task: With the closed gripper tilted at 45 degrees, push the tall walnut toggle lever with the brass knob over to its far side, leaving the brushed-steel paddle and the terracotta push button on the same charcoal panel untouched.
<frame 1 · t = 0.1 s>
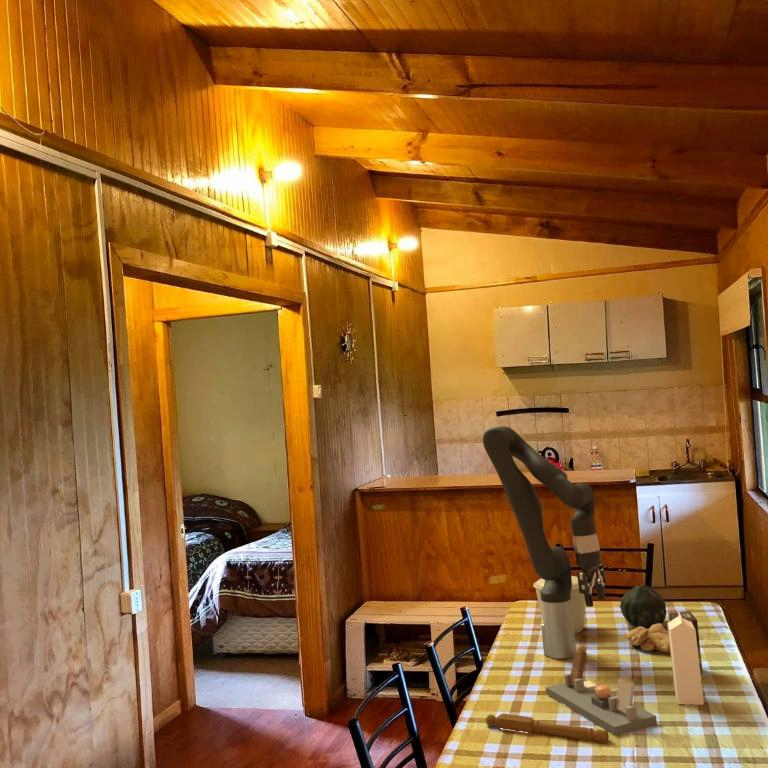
hand: (595, 603, 222), 17 cm above the table, tool pointing down, fingers open, 8 cm apart
control panel: (598, 708, 187), on the table
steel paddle: (624, 696, 178), point 6 cm above the table, hinge at -15.0°
coffee box: (688, 674, 204), on the table
terracotta button: (603, 691, 185), point 5 cm above the table, slide at 0.0 cm
walnut lever: (578, 665, 198), point 8 cm above the table, hinge at -20.0°
turned wooden table leg: (545, 735, 176), on the table
squash: (645, 625, 252), on the table
milk: (689, 701, 187), on the table
canister: (564, 631, 253), on the table
ginger root: (651, 648, 228), on the table
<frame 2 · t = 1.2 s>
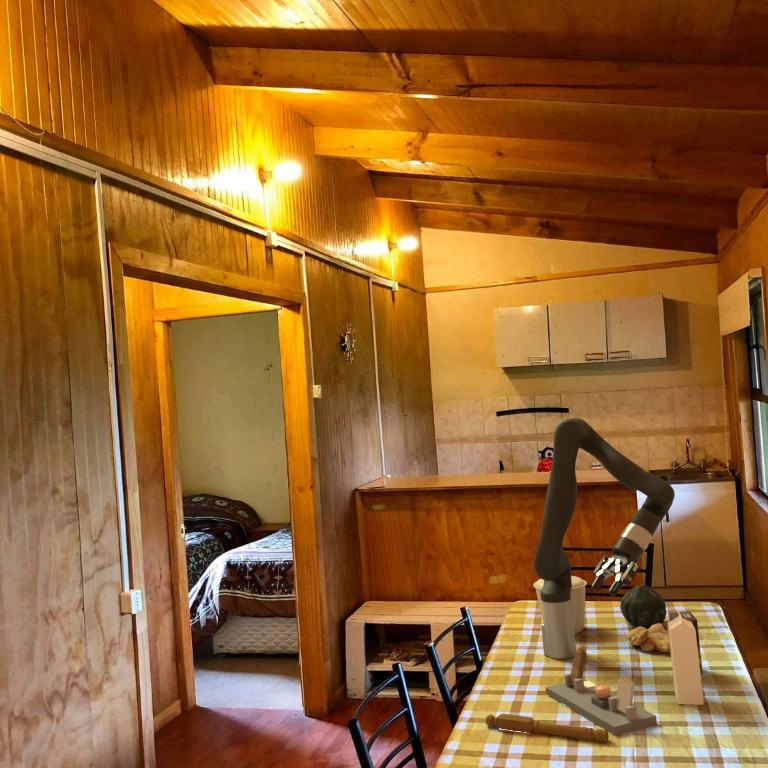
hand: (602, 591, 202), 26 cm above the table, tool tilted 45°, fingers open, 7 cm apart
nothing on the table moved.
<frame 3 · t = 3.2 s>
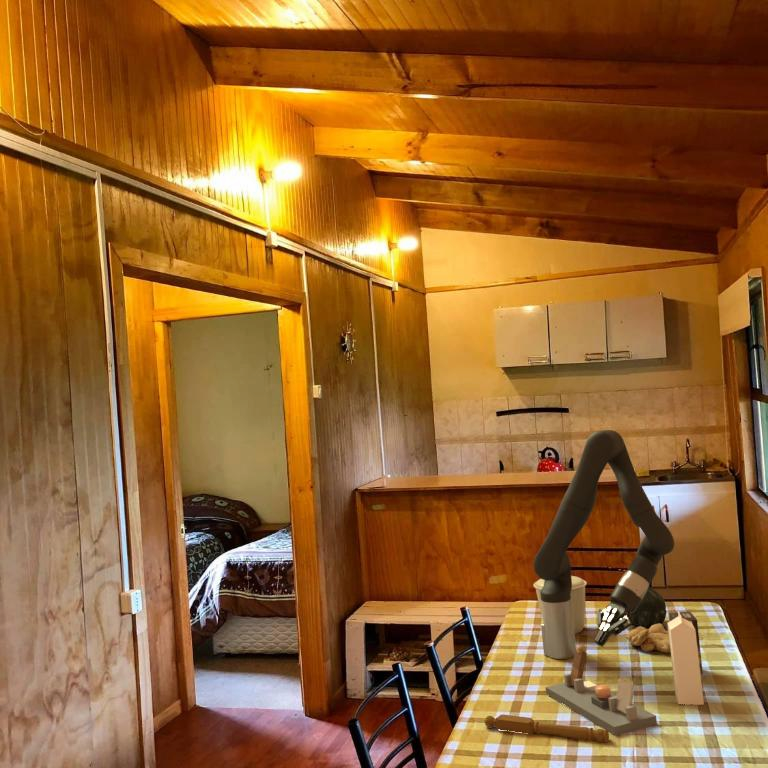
hand: (598, 644, 200), 12 cm above the table, tool tilted 45°, fingers closed
nothing on the table moved.
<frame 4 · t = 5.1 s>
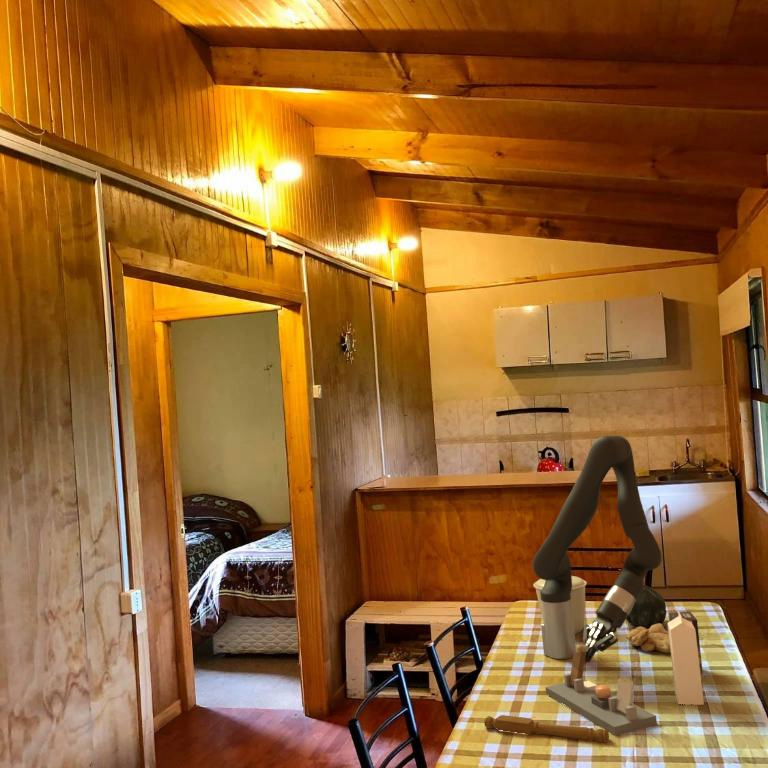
hand: (584, 660, 198), 9 cm above the table, tool tilted 45°, fingers closed
walnut lever: (578, 664, 198), point 8 cm above the table, hinge at -18.6°, touching gripper
everything else where it was.
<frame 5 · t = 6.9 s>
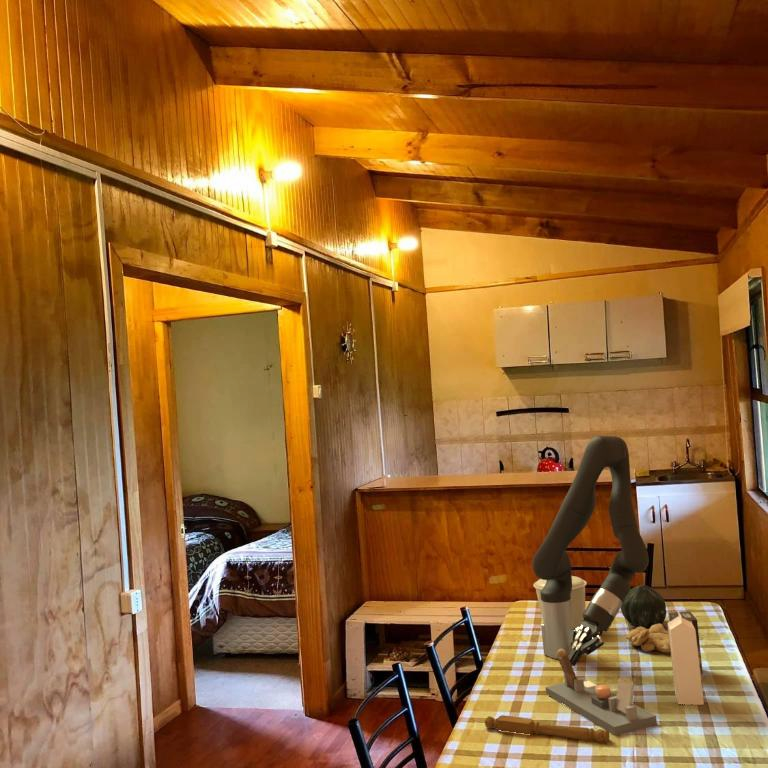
hand: (570, 663, 196), 9 cm above the table, tool tilted 45°, fingers closed
walnut lever: (567, 667, 196), point 8 cm above the table, hinge at 17.8°, touching gripper
everything else where it was.
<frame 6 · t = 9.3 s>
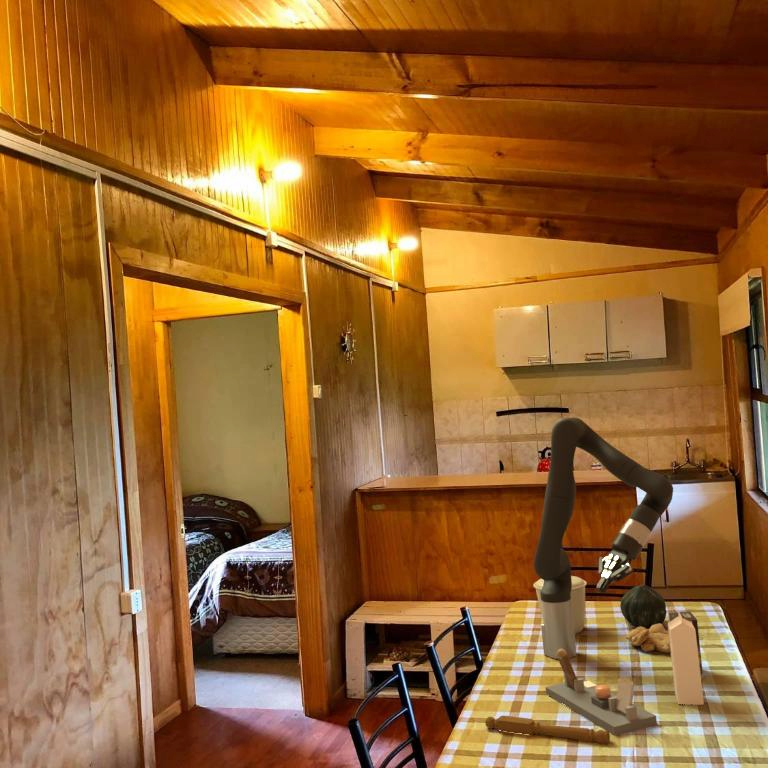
hand: (599, 591, 202), 26 cm above the table, tool tilted 45°, fingers closed
walnut lever: (567, 667, 196), point 8 cm above the table, hinge at 17.9°
everything else where it was.
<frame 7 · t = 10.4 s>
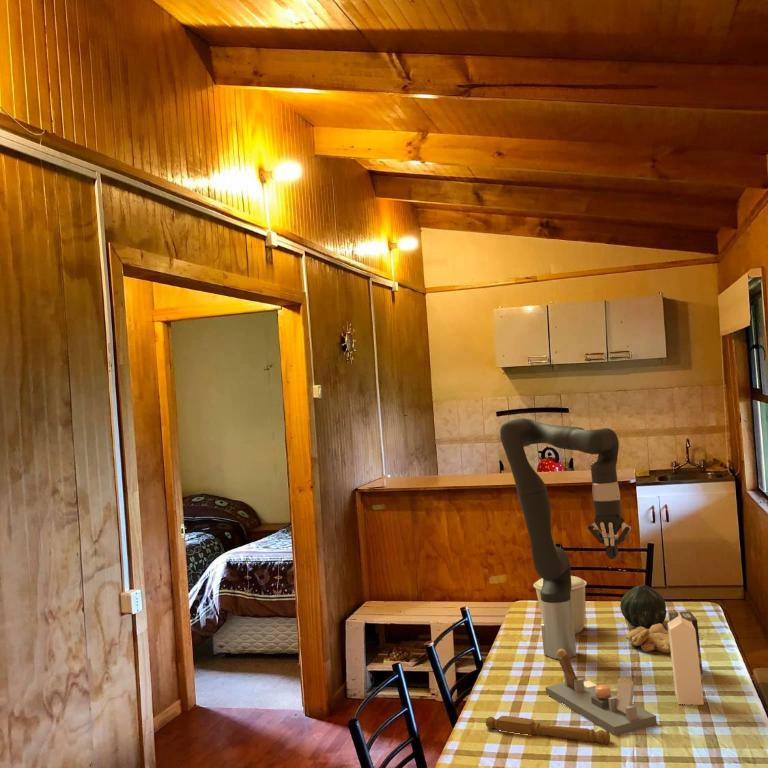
hand: (612, 558, 210), 33 cm above the table, tool pointing down, fingers closed
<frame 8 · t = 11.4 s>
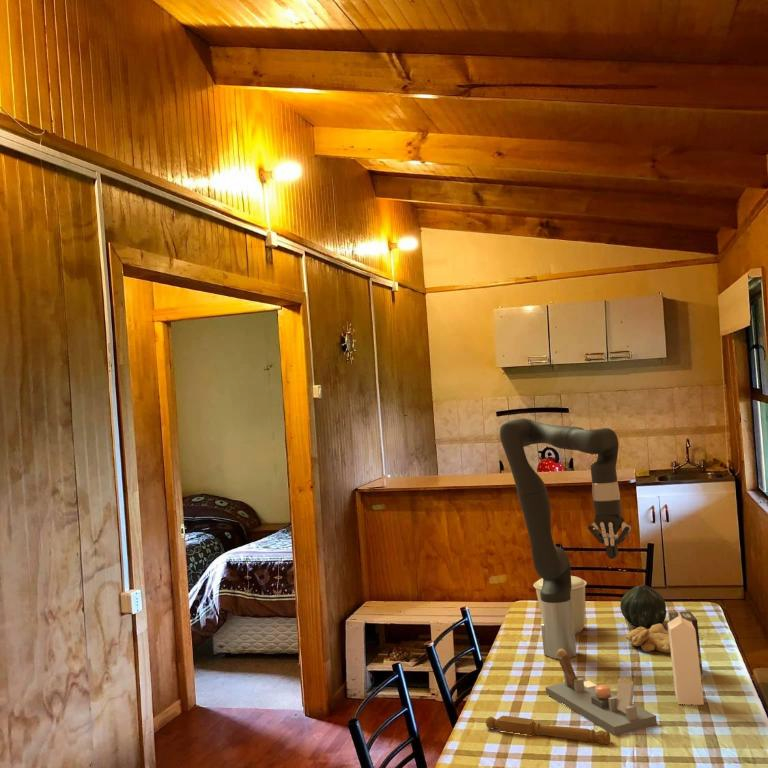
hand: (612, 558, 210), 33 cm above the table, tool pointing down, fingers closed
at the end: walnut lever at +18° (first picture: -20°); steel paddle at -15° (first picture: -15°); terracotta button slide at 0.0 cm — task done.
